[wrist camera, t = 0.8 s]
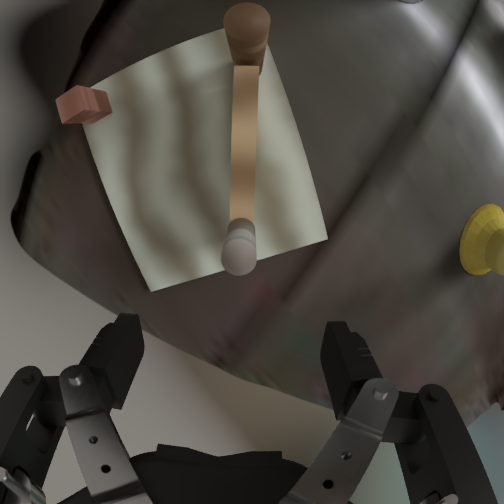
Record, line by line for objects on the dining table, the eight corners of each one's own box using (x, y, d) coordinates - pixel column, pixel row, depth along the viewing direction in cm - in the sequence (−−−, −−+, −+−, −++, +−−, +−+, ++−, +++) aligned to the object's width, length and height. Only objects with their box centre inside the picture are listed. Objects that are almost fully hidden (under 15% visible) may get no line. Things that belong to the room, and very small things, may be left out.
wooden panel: (236, 84, 29) (225, 44, 15) (258, 84, 29) (265, 45, 15) (232, 231, 35) (221, 297, 21) (253, 232, 35) (254, 298, 21)
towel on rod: (257, 22, 27) (261, -50, 12) (326, 236, 37) (371, 303, 22) (78, 97, 30) (-7, 91, 15) (153, 288, 40) (110, 366, 25)
